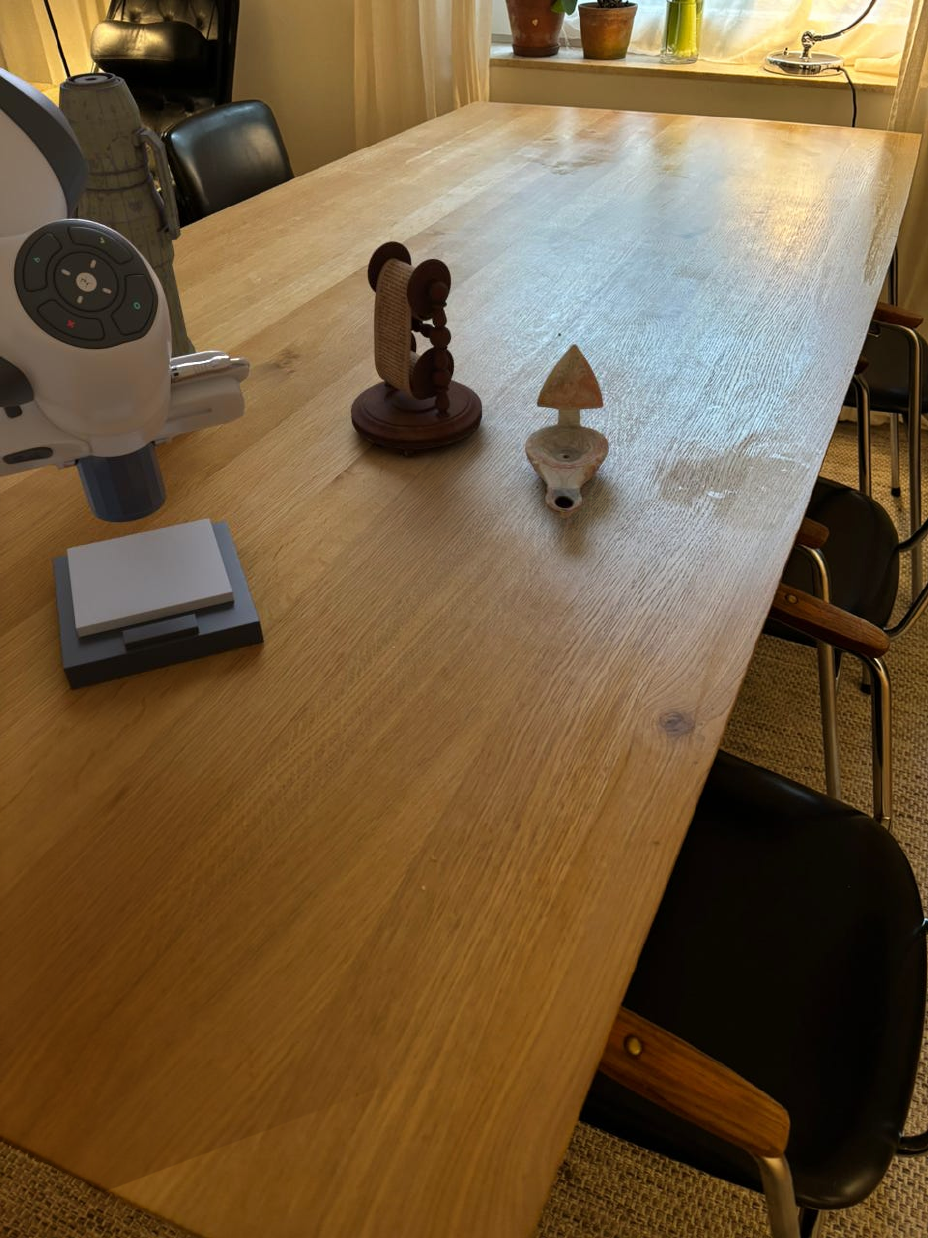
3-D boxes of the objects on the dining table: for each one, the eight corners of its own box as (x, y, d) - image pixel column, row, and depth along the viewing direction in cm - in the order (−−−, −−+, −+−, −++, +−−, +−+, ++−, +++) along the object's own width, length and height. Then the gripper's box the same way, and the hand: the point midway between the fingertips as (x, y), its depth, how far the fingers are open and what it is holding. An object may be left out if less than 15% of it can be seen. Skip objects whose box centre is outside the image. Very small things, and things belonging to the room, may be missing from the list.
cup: (94, 529, 80) (62, 431, 74) (87, 490, 84) (57, 394, 79) (171, 512, 81) (146, 415, 76) (161, 475, 86) (137, 380, 80)
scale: (71, 690, 81) (59, 659, 79) (59, 578, 93) (49, 549, 90) (264, 642, 85) (258, 611, 83) (230, 540, 97) (224, 511, 95)
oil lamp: (607, 428, 112) (614, 344, 105) (605, 538, 96) (613, 448, 89) (530, 424, 113) (533, 342, 106) (515, 533, 97) (517, 443, 90)
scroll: (327, 424, 114) (306, 249, 101) (427, 384, 121) (420, 215, 108) (405, 476, 105) (393, 291, 92) (509, 429, 112) (511, 252, 99)
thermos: (130, 388, 121) (47, 67, 99) (225, 389, 121) (163, 66, 98) (106, 424, 115) (11, 89, 92) (206, 425, 114) (136, 88, 91)
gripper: (237, 312, 70) (225, 382, 84) (-71, 375, 64) (-32, 440, 77) (265, 396, 70) (249, 452, 83) (-41, 468, 64) (-7, 516, 77)
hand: (112, 447), depth 80 cm, fingers closed on cup, 6 cm apart
